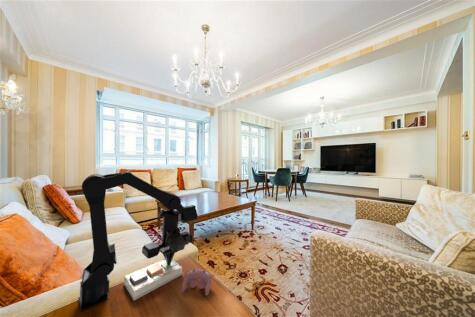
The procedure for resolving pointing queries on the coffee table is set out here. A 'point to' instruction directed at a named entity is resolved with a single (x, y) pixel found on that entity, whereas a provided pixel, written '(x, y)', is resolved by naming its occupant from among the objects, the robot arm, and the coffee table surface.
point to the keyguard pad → (152, 280)
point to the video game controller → (196, 274)
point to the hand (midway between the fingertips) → (168, 264)
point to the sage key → (168, 265)
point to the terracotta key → (154, 270)
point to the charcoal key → (138, 277)
